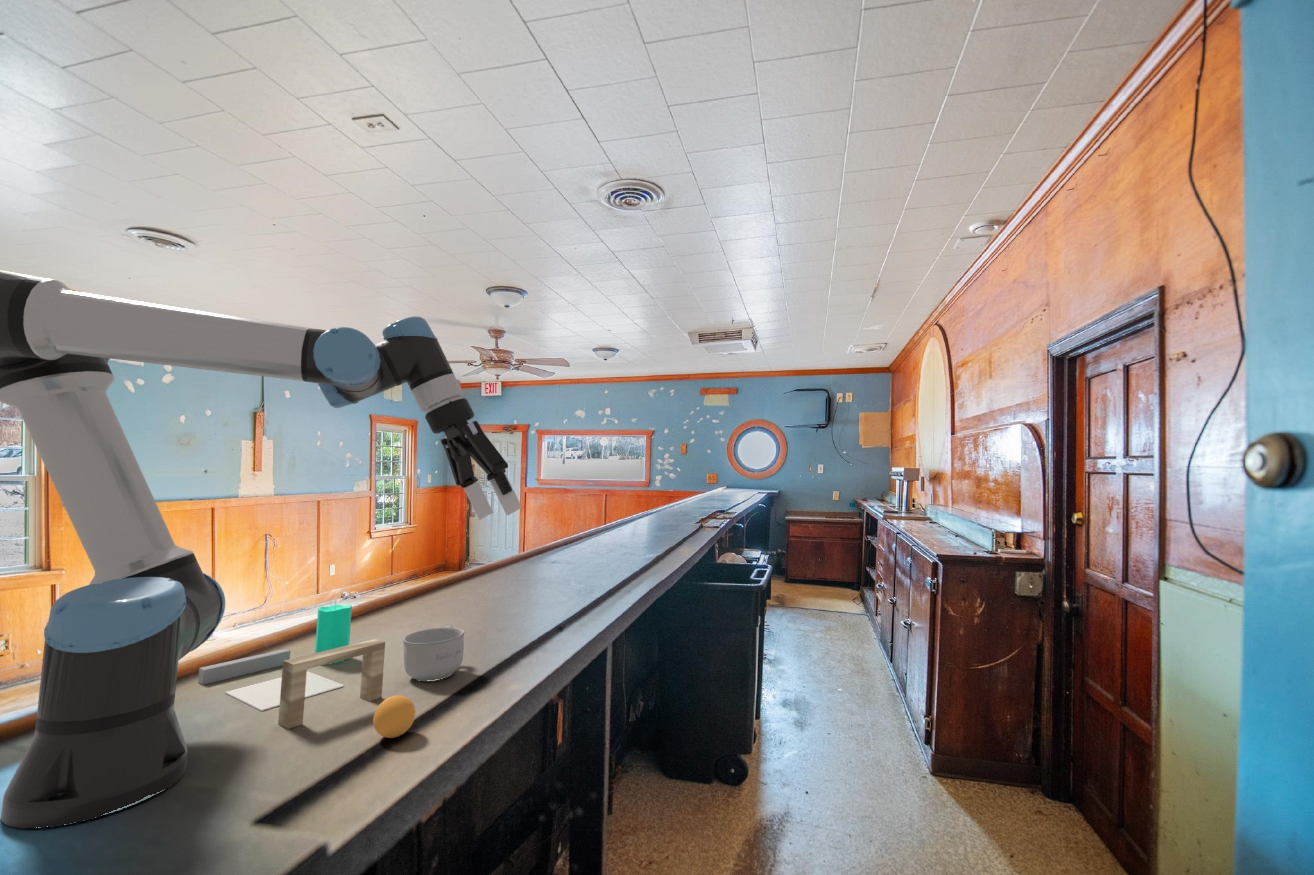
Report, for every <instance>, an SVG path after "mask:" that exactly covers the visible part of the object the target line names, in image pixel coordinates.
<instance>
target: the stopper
mask: <svg viewBox="0 0 1314 875" xmlns="http://www.w3.org/2000/svg"><path fill="white" fill-rule="evenodd" d="M288 659H291V650H289V649H287V648H284V649H279V650H274V651H270V652H266V653H261V654H256V655H251V656H248V657H242V658H238V659H234V660H229V661H224V662H220V663H216V664H211V665H206V666H202V667H199V668H198V669H199V670H198V680H197V681H198V682H197V683H198V684H201V685H207V684H212V683H215V682H220V681H223V680H228V679H233V678H237V677H240V676H245V675H249V674H253V673H257V672H261V671H265V670H269V669H274V668H278V667H281V666H282V667H283V661H284V660H288Z"/></svg>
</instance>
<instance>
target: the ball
mask: <svg viewBox="0 0 1314 875" xmlns="http://www.w3.org/2000/svg"><path fill="white" fill-rule="evenodd" d="M415 708H416V707H415V705H414V702H413V701H412V700H411V699H410V698H408V697H407V696H404V695H398V694H396V695H392V696H390V697H387V698H386V699H384V700H382V702H380V704H379V705H378V706H377V708H376V709H375V712H374V714H373V717H372V718H373V720H372V724H373V728H374V730H375V731H376V733H377V734H378V735H380V736H381V737H383V738H387V739H393V738H397V737H401V736H402V735H403V734H405V733H406V732H407V731H408V730H409V729H410V728H411V726H412V725H413V723H414V720H415V718H416V709H415Z"/></svg>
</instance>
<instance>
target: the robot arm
mask: <svg viewBox="0 0 1314 875" xmlns="http://www.w3.org/2000/svg"><path fill="white" fill-rule="evenodd" d="M381 335H382V336H383V340H382V341H381V342H378V343H376V344H375V343H374V342H373V341H372V340H371V339H370V338H369V336H367V334H365V333H363V332H362V331H360V330H358V329H356V328H352V327H350V326H349V327H348V326H339V327H333V328H331V329H329V330H326V329H325V330H324V329H318V328H311V327H306V326H300V325H294V324H286V323H280V322H273V321H267V320H260V319H254V318H248V317H241V316H234V315H229V314H222V313H215V312H209V311H201V310H198V309H197V310H195V309H190V308H183V307H177V306H171V305H170V306H169V305H165V304H157V303H152V302H151V303H150V302H146V301H138V300H131V299H125V298H120V297H113V296H105V295H101V294H100V295H99V294H93V293H87V292H80V291H74V290H71V289H70V288H69V287H68V286H67V285H66V283H63V282H62V281H60V280H58V279H54V278H53V279H52V278H47V277H46V278H45V277H40V276H34V275H30V274H24V273H23V274H22V273H17V272H12V271H8V270H1V269H0V403H2V404H6V405H9V406H11V407H13V408H16V409H17V410H18V411H19V412H18V413H19V414H20V416H21V418H22V420H23V422H24V424H25V426H26V428H27V431H28V433H29V435H30V437H31V439H32V441H33V443H34V445H35V447H36V450H37V452H38V454H39V456H40V458H41V460H42V463H43V465H44V466H45V469H46V471H47V473H48V476H49V478H50V479H51V482H52V483H53V486H54V488H55V490H56V492H57V495H58V496H59V498H60V500H61V502H62V504H63V506H64V509H65V511H66V513H67V515H68V517H69V520H70V522H71V523H72V526H73V528H74V530H75V532H76V534H77V536H78V539H79V540H80V543H81V545H82V547H83V550H84V551H85V553H86V555H87V557H88V559H89V562H90V564H91V566H92V568H93V570H94V576H93V577H92V579H91V580H90V581H89V584H87V585H84V586H81V587H78V588H75V589H72V590H70V591H68V592H66V593H64V594H63V595H61V596H59V597H58V598H57V599H56V600H55V601H54V602H53V604H52V605H51V607H50V610H49V616H48V620H47V622H46V625H45V627H44V628H43V637H44V644H43V645H44V646H43V654H42V655H43V656H42V663H41V664H42V665H41V674H40V682H39V693H38V702H37V703H38V704H37V712H36V720H35V730H34V736H33V738H32V740H31V742H30V744H29V746H28V747H27V750H26V752H25V753H24V755H23V757H22V759H21V761H20V763H19V765H18V767H17V768H16V770H15V772H14V775H13V777H12V778H11V780H10V781H9V784H8V785H7V787H6V790H5V792H4V794H3V798H2V804H1V806H2V807H1V812H0V820H1V822H2V823H3V824H4V825H6V826H8V827H11V826H12V827H11V828H16V829H23V828H36V827H37V828H38V827H41V828H40V829H43V828H42V827H47V826H48V827H50V828H52V827H51V826H58V827H62V826H61V825H64V824H70V823H74V822H79V823H82V822H81V821H83V820H88V821H91V820H90V819H92V820H95V819H94V818H95V817H99V816H101V815H103V814H105V813H109V812H111V811H113V810H117V809H118V808H122V807H124V806H127V805H129V804H132V803H135V802H136V801H139V800H141V799H143V798H144V797H146V796H148V795H152V794H156V793H157V792H160V791H162V790H164V789H166V788H168V789H170V787H173V786H174V785H175V784H176V783H178V781H180V780H181V779H182V777H183V776H184V775H185V773H186V770H187V765H188V755H189V754H188V752H189V751H188V747H187V746H188V745H187V744H186V740H185V738H184V735H183V732H182V729H181V725H180V723H179V720H178V717H177V714H176V711H175V710H176V709H175V701H176V700H175V699H176V690H177V688H176V687H177V680H178V669H179V661H180V660H182V659H183V658H184V657H186V655H189V653H190V652H193V651H194V650H197V649H198V648H199V647H200V646H201V645H203V644H204V643H205V642H206V641H208V640H209V638H210V637H211V636H212V635H213V634H214V633H215V631H216V629H217V628H218V626H219V625H220V623H221V621H222V619H223V617H224V613H225V610H226V596H225V593H224V590H223V588H222V587H221V585H220V583H219V582H218V581H216V579H214V578H213V577H212V576H210V575H208V574H207V573H204V572H203V570H202V568H201V566H200V563H199V561H198V560H197V557H196V555H195V552H194V551H193V550H191V549H186V548H184V547H179V546H178V545H177V544H175V541H174V539H173V536H172V535H171V533H170V531H169V529H168V527H167V524H166V522H165V520H164V517H163V516H162V513H161V511H160V509H159V506H158V505H157V502H156V500H155V497H154V496H153V494H152V491H151V489H150V487H149V484H148V482H147V481H146V478H145V475H144V473H143V472H142V470H141V468H140V465H139V463H138V460H137V457H136V456H135V455H134V452H133V450H132V447H131V445H130V443H129V441H128V439H127V436H126V435H125V431H124V430H123V428H122V426H121V424H120V421H119V419H118V417H117V415H116V412H115V410H114V408H113V405H112V404H111V401H110V400H109V397H108V395H107V390H108V389H109V388H110V386H111V385H112V384H113V383H114V381H115V376H114V374H113V372H112V370H111V368H110V366H109V363H108V362H109V361H110V359H111V360H112V359H113V360H121V361H126V362H127V361H128V362H129V361H130V362H136V363H137V362H138V363H146V364H153V365H164V366H172V367H180V368H186V369H187V368H188V369H197V370H206V371H216V372H222V373H231V374H232V373H233V374H240V375H248V376H249V375H250V376H257V377H265V378H273V379H284V380H291V381H292V380H294V381H301V382H305V383H306V382H308V383H313V384H317V385H318V387H319V389H320V390H321V393H322V394H323V396H324V398H325V399H326V401H327V402H328V403H329V406H331V407H332V408H335V409H340V408H344V407H347V406H350V405H353V404H355V405H356V404H358V403H359V402H361V401H363V400H365V399H367V398H370V397H372V396H376V395H378V394H380V393H383V392H386V391H388V390H390V389H393V388H396V387H399V386H401V385H403V384H405V383H406V384H407V385H408V386H409V389H410V391H411V394H412V395H413V397H414V399H415V401H416V404H417V405H418V408H419V410H420V411H421V412H423V413H426V414H425V415H424V418H425V420H426V422H427V424H428V425H429V428H430V430H431V433H433V434H437V435H438V434H440V433H444V434H445V436H444V437H442V438H440V443H441V445H442V446H443V449H444V451H445V454H446V457H447V461H448V463H449V466H450V470H451V473H452V476H453V479H454V481H455V484H456V486H458V487H459V486H460V487H461V488H462V489H463V490H464V492H465V494H466V497H467V498H468V500H469V503H470V504H471V506H472V508H473V510H474V512H475V514H476V515H477V518H478V520H479V521H480V520H482V519H484V518H486V517H487V516H490V515H492V514H493V513H494V511H493V509H492V507H491V505H490V503H489V501H488V499H487V496H486V494H485V493H484V492H483V489H482V487H481V485H480V484H479V482H478V481H479V478H477V476H475V474H474V468H473V463H472V459H473V461H474V462H475V463H476V464H477V465H478V466H479V467H480V468H481V469H482V470H483V471H484V472H485V473H486V474H487V475H486V481H488V482H489V484H490V485H491V487H492V489H493V491H494V493H495V495H496V496H497V499H498V501H499V503H500V505H501V507H502V509H503V510H504V513H505V515H506V516H509V515H511V514H513V513H515V512H516V511H518V510H520V509H522V508H523V507H522V504H521V502H520V500H519V498H518V496H517V494H516V492H515V490H514V488H513V486H512V484H511V483H510V480H509V478H508V477H507V475H506V472H507V471H506V469H508V468H509V464H508V463H507V461H506V460H505V459H504V457H503V456H502V455H501V453H500V452H499V451H498V450H497V448H496V446H495V445H494V444H493V443H492V441H491V440H490V439H489V438H488V436H487V435H486V434H485V433H484V431H483V429H482V427H481V426H480V424H479V422H478V420H474V421H471V419H473V418H474V417H475V413H474V411H473V408H472V407H471V405H470V403H469V401H468V399H466V398H465V397H462V396H464V391H463V390H462V387H461V386H460V385H461V380H460V379H457V378H456V376H455V374H454V371H453V368H452V367H451V365H450V363H449V361H448V359H447V357H446V355H445V352H444V351H443V349H442V347H441V345H440V342H439V340H438V338H437V336H435V334H434V332H433V330H432V329H431V327H430V324H429V322H427V320H426V319H425V318H423V317H422V316H409V317H408V316H407V317H405V318H401V319H398V320H396V321H394V322H393V323H390V324H388V325H387V326H386V325H385V327H384V328H383V329H382V334H381ZM468 421H471V422H468ZM166 790H167V789H166ZM99 818H100V817H99ZM70 825H71V824H70ZM64 826H65V825H64Z"/></svg>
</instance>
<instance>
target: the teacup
mask: <svg viewBox="0 0 1314 875" xmlns="http://www.w3.org/2000/svg"><path fill="white" fill-rule="evenodd" d="M464 635H465V630H464V629H463V628H459V627H454V626H453V625H446V626H442V627H432V628H426V629H421V630H418V631H414V632H411V633H409V634H407V635H405V636H404V637H403V638H402V642H403V665H404V670H405V673H406V674H407V675H408V676H410V677H411V678H413V679H414V680H415V679H417V680H420V681H427V680H435V679H441V678H444V677H447V678H449V677H450V676H449V675H451V674H452V675H453V674H454V673H455V672H456V671H457V670H458V669H459V668H460V666H462V663H463V660H464V646H465V645H464V644H465V643H464V642H465V641H464V640H465V638H464ZM452 675H451V676H452ZM448 676H449V677H448ZM417 680H416V681H417ZM420 681H419V682H420Z"/></svg>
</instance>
